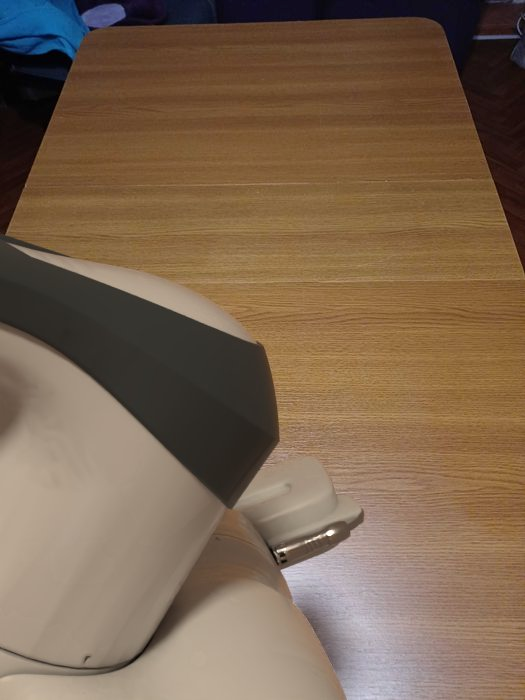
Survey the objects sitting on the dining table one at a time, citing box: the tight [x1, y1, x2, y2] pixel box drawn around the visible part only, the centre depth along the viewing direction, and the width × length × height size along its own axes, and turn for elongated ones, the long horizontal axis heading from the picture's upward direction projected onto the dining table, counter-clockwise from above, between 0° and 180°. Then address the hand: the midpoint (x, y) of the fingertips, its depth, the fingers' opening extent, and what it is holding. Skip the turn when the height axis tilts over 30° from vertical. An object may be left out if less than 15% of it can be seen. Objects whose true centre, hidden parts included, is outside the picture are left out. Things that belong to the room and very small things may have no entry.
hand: (171, 498), depth 45 cm, fingers closed on box, 5 cm apart
